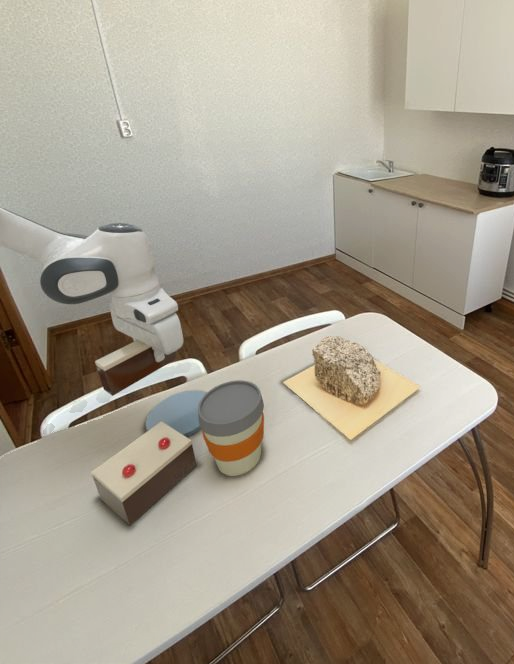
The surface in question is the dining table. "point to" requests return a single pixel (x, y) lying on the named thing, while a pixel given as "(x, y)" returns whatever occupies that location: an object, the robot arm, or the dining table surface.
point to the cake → (144, 471)
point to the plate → (177, 412)
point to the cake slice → (128, 366)
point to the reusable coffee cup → (233, 425)
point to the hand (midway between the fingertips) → (152, 356)
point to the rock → (349, 385)
